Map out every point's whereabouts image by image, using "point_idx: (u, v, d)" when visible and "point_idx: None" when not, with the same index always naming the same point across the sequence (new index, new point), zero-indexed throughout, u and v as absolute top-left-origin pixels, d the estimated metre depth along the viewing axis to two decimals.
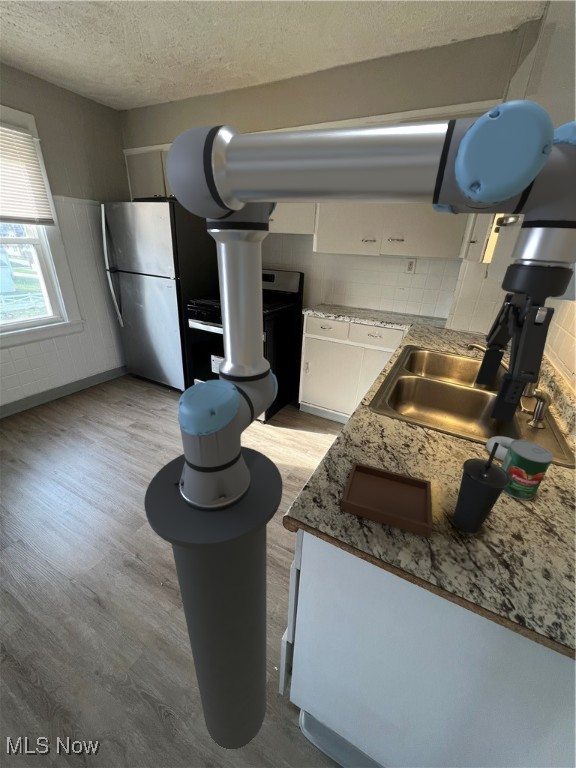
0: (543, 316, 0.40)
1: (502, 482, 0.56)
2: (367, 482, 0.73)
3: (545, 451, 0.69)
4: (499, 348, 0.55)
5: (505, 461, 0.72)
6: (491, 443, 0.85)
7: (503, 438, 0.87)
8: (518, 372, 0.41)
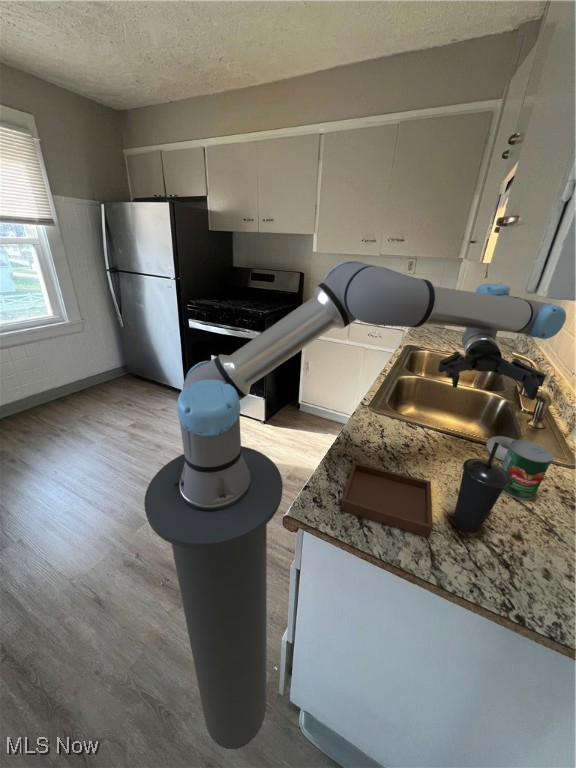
0: None
1: (502, 482, 0.56)
2: (367, 482, 0.73)
3: (545, 451, 0.69)
4: None
5: (505, 461, 0.72)
6: (491, 443, 0.85)
7: (503, 438, 0.87)
8: None
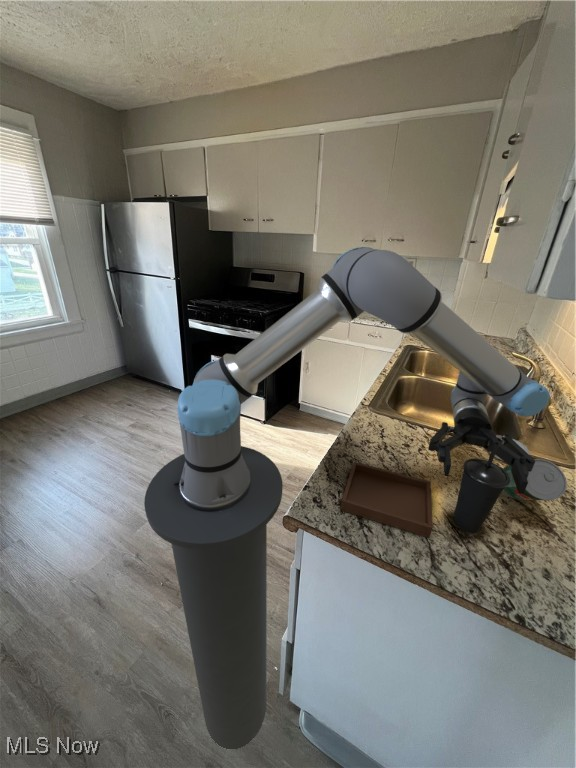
0: None
1: (502, 482, 0.56)
2: (367, 482, 0.73)
3: (559, 475, 0.62)
4: None
5: (512, 480, 0.67)
6: None
7: None
8: None
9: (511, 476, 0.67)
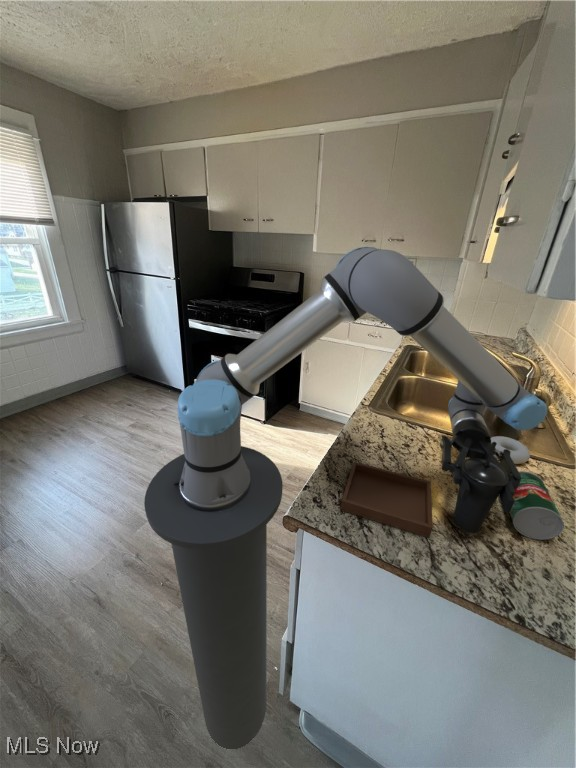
0: None
1: (500, 481, 0.56)
2: (367, 482, 0.73)
3: (558, 521, 0.58)
4: None
5: None
6: None
7: (503, 438, 0.87)
8: None
9: None
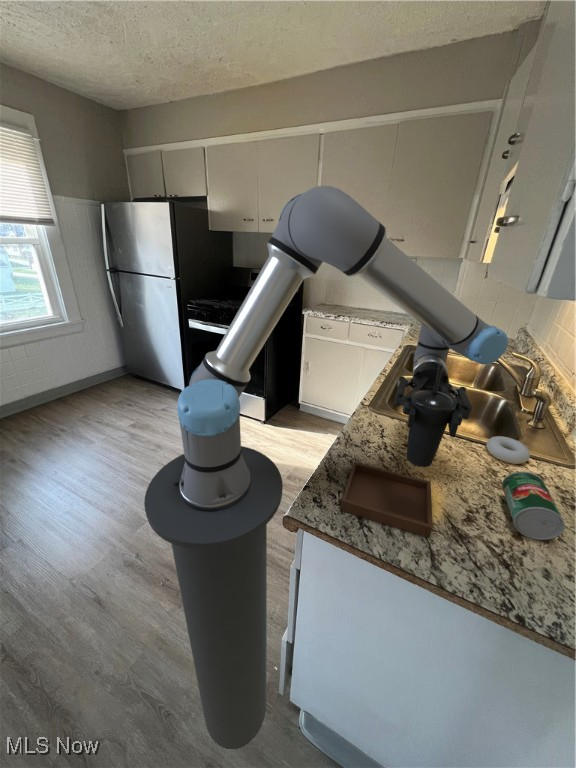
0: None
1: (447, 406, 0.54)
2: (367, 482, 0.73)
3: (558, 522, 0.58)
4: None
5: (509, 507, 0.65)
6: (491, 443, 0.85)
7: (503, 438, 0.87)
8: None
9: (509, 504, 0.65)
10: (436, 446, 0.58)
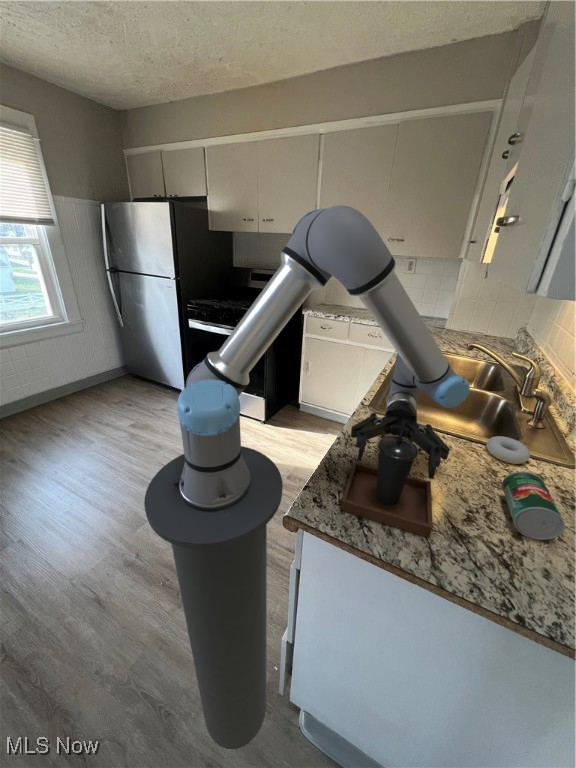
0: None
1: (408, 456, 0.60)
2: (367, 482, 0.73)
3: (558, 522, 0.58)
4: None
5: (509, 507, 0.65)
6: (491, 443, 0.85)
7: (503, 438, 0.87)
8: None
9: (509, 504, 0.65)
10: (401, 488, 0.65)
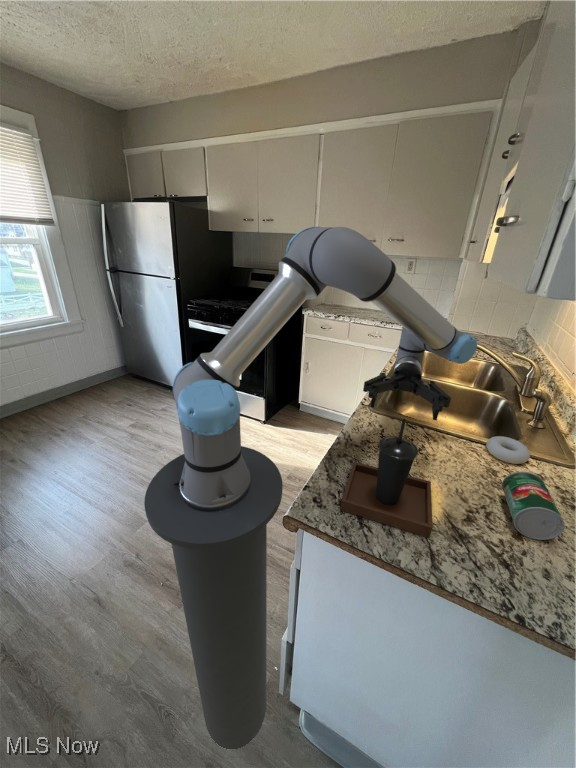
0: None
1: (408, 456, 0.60)
2: (367, 482, 0.73)
3: (558, 522, 0.58)
4: None
5: (509, 507, 0.65)
6: (491, 443, 0.85)
7: (503, 438, 0.87)
8: None
9: (509, 504, 0.65)
10: (401, 488, 0.65)
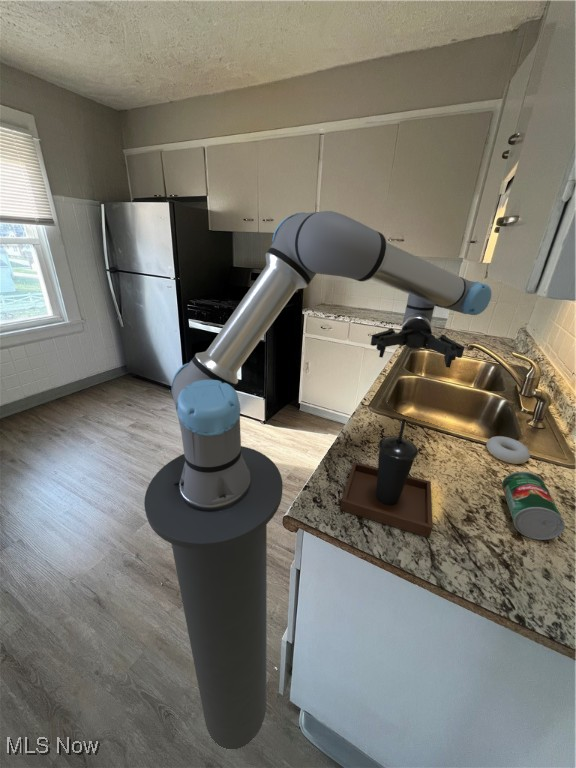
0: None
1: (408, 456, 0.60)
2: (367, 482, 0.73)
3: (558, 522, 0.58)
4: None
5: (509, 507, 0.65)
6: (491, 443, 0.85)
7: (503, 438, 0.87)
8: None
9: (509, 504, 0.65)
10: (401, 488, 0.65)
